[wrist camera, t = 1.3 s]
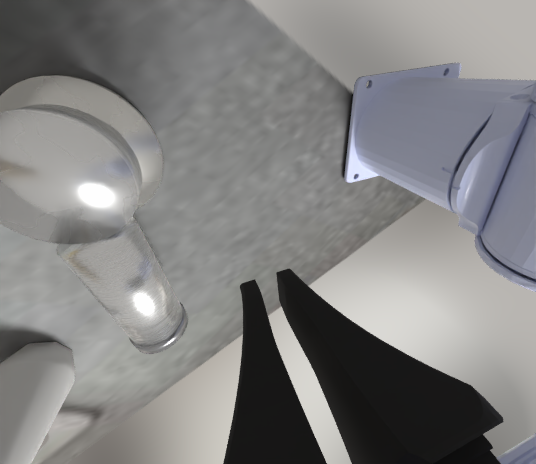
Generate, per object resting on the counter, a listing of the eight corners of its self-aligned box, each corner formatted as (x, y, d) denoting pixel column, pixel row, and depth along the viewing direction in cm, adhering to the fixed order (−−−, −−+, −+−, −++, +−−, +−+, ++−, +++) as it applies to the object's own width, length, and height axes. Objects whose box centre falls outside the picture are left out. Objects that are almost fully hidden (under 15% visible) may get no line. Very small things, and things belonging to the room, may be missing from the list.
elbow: (-43, 114, 10) (-145, 135, 7) (111, 93, 11) (86, 103, 8) (123, 318, 19) (114, 368, 16) (198, 295, 20) (203, 336, 17)
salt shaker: (-21, 363, 19) (-230, 681, 9) (31, 326, 19) (-128, 614, 9) (53, 378, 23) (-40, 618, 13) (97, 347, 23) (38, 569, 13)
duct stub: (131, 66, 12) (119, 65, 10) (179, 198, 17) (180, 222, 14) (-72, 88, 11) (-156, 95, 8) (45, 228, 15) (18, 262, 13)
